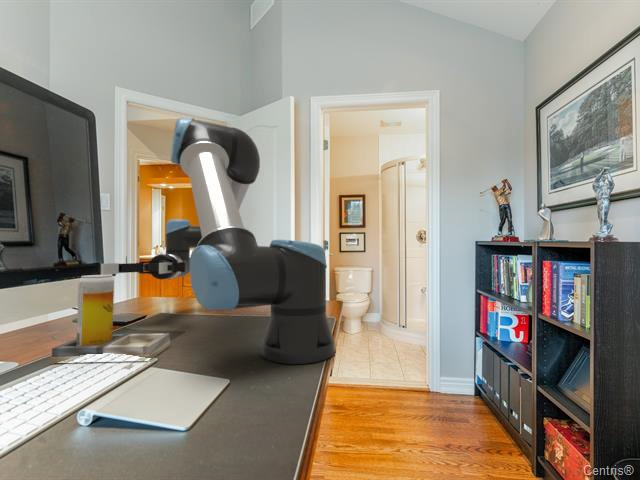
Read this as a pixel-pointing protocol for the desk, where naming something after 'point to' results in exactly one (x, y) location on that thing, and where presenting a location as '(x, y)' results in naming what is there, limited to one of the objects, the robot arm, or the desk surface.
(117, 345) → the socket board
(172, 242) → the robot arm
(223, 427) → the desk surface
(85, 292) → the beer can
